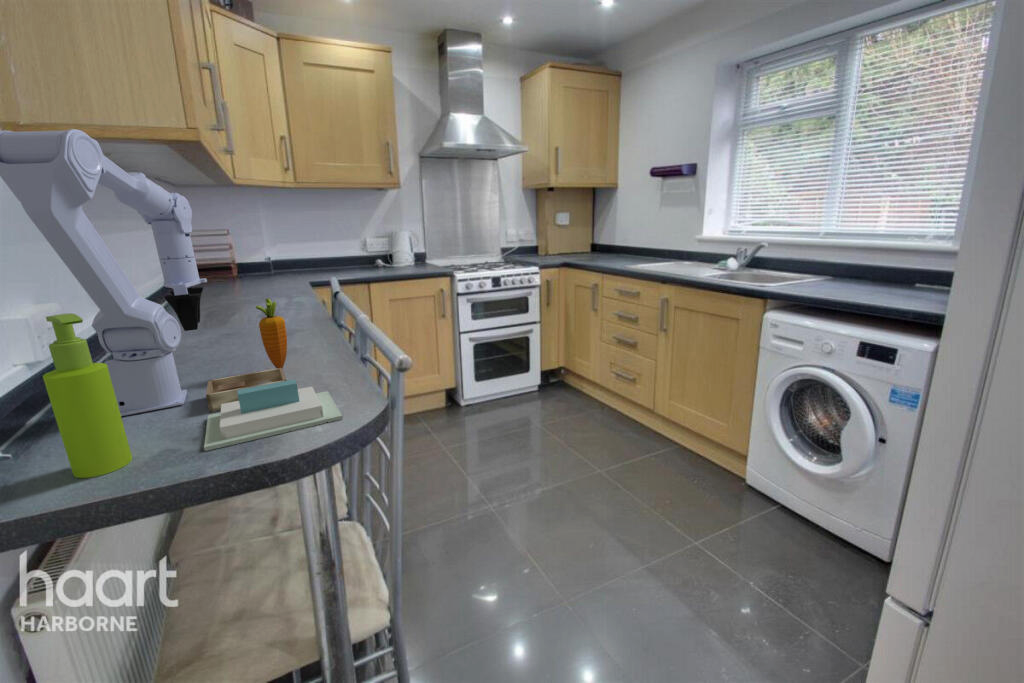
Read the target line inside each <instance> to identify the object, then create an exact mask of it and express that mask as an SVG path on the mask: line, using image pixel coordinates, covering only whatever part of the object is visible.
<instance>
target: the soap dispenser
mask: <svg viewBox="0 0 1024 683" xmlns="http://www.w3.org/2000/svg"><path fill="white" fill-rule="evenodd" d="M45 319H46V322H50V323H51V324H52V328H53V331H54V335H55V338H56V340H54V341H53V342H52V343H49V344H48V347H49V352H50V355H51V358H52V362H53V365H54V369H53V370H51V371H48V372H46V373H44V374H43V375H42V378H43V382H44V386H45V389H46V393H47V395H48V398H49V402H50V404H51V407H52V408H51V409H52V411H53V415H54V418H55V421H56V424H57V427H58V431H59V433H60V434H59V435H60V437H61V440H62V443H63V446H64V449H65V452H66V456H67V459H68V462H69V465H70V468H71V472H72V475H73V477H75V478H79V479H90V478H94V477H95V478H96V477H100V476H103V475H107V474H110V473H113V472H114V471H115V472H116V471H117V470H120V469H123V468H124V467H125V466H127V465H129V464H130V463H131V462H132V460H133V455H132V452H131V447H130V445H129V440H128V438H127V433H126V429H125V426H124V421H123V419H122V416H121V414H120V411H119V407H118V403H117V400H116V396H115V392H114V389H113V385H112V381H111V378H110V374H109V370H108V367H107V364H105V362H104V363H103V362H93V359H92V354H91V352H90V348H89V345H88V341H87V340H86V339H85V338H81V337H77V336H76V332H75V330H74V326H73V325H75V324H76V325H77V324H81V323H83V321H84V319H83V318H82V317H80V315H77V314H76V313H63V314H62V313H61V314H54V315H48V316H45Z"/></svg>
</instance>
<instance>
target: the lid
mask: <svg viewBox="0 0 1024 683" xmlns="http://www.w3.org/2000/svg"><path fill="white" fill-rule="evenodd" d="M316 393H317V392H315V389H314V387H313V386H306V387H302V388H298V384H297V382H296V379H289V380H287V381H283V382H278V383H272V384H267V385H261V386H256V387H251V388H245V389H240V390H238V399H239V401H235V402H230V403H225V404H221V410H220V413H221V417H220V431H221V435H222V439H227V438H231V437H236V436H240V435H244V434H249V433H253V432H258V431H262V430H267V429H271V428H275V427H280V426H284V425H289V424H293V423H297V422H302V421H306V420H311V419H315V418H320V417H324V415H323V409H322V405H321V403H320V401H319V399H318V397H317V395H316Z"/></svg>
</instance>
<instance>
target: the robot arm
mask: <svg viewBox="0 0 1024 683" xmlns="http://www.w3.org/2000/svg"><path fill="white" fill-rule="evenodd" d="M101 148H102V147H101V146H100V144H99V142H98V141H97V140H96V139H95V138H92V137H91V136H89V135H88V133H86V132H84V131H83V130H81V129H77V128H76V129H75V128H72V129H71V128H70V129H67V130H32V131H31V130H30V131H27V130H25V131H13V130H0V178H1V179H2V181H3V182H4V183H5V184H6V186H7V187H8V188H9V190H10V191H11V193H12V194H14V197H16V199H17V201H19V203H20V205H21V206H22V208H23V210H24V212H25V214H26V215H27V216H28V217H29V219H30V220H31V221H32V223H33V224H34V226H35V227H36V229H38V230H39V232H40V233H41V234H42V235H43V237H44V239H45V240H46V241H47V242H48V244H49V245H50V247H51V248H52V249H53V250H54V251H55V253H56V254H57V256H58V257H59V258H60V260H61V261H62V262H63V263H64V265H65V266H66V267H67V268H68V270H69V271H70V272H71V273H72V275H73V276H74V278H75V279H76V280H77V282H78V283H79V284H80V286H81V287H82V288H83V290H84V291H85V292H86V294H87V295H88V296H89V297H90V299H91V300H92V301H93V302H94V304H95V305H96V307H97V308H98V309H99V311H98V312H97V313H96V315H95V316H94V317H93V320H92V324H91V327H92V328H93V330H94V331H95V333H96V334H97V336H98V342H99V344H100V346H101V347H102V349H103V350H104V351H105V352H107V354H110V355H112V357H113V359H110V360H106V361H105V362H104V363H105V364H107V367H108V370H109V374H110V378H111V381H112V385H113V389H114V392H115V396H116V400H117V403H118V407H119V411H120V414H121V417H123V416H130V415H135V414H140V413H145V412H151V411H156V410H162V409H166V408H172V407H177V406H181V405H184V403H185V401H186V396H187V394H188V390H187V389H182V388H181V384H180V383H181V382H180V379H179V375H178V370H177V366H176V362H175V358H174V354H173V351H176V350H177V347H178V346H179V344H180V342H181V339H182V338H181V337H182V330H181V327H182V329H183V330H184V332H188V331H195V330H198V327H199V324H200V322H201V299H202V298H201V297H202V293H203V290H204V287H203V286H197V285H200V284H203V283H204V284H205V283H208V279H207V278H205V277H204V278H200V275H199V271H198V266H197V261H196V260H197V259H196V256H195V251H194V247H193V241H192V237H191V233H192V231H193V225H192V218H193V210H192V208H191V205H190V202H189V201H188V199H187V198H186V197H185V196H183V195H181V194H179V193H178V192H169V191H167V190H166V189H164V188H163V187H162V186H160V185H158V184H157V183H156V182H153V181H152V180H151V179H149V178H147V177H146V174H144V173H143V172H141V171H139V172H138V171H137V172H135V171H134V172H133V171H131V172H127V171H125V170H124V169H122V168H121V167H120V166H118V165H117V163H114V161H112V160H111V159H109V158H108V157H107V156H106V155H104V153H103V150H102V149H101ZM98 184H99V185H100V186H102V187H105V188H107V189H109V190H111V191H113V194H114V196H115V198H116V199H117V201H119V202H121V203H122V204H123V205H125V206H127V207H129V208H131V209H132V210H135V211H136V212H137V213H138V214H139V215H140V216H141V217H142V219H143V221H144V222H145V223H146V224H147V225H151V231H152V234H153V238H154V243H155V246H156V250H157V252H156V253H157V255H158V260H159V264H160V269H161V272H162V277H163V286H164V287H165V288H170V289H173V290H170V292H169V294H166V295H164V296H163V297H164V300H165V301H166V302H167V303H168V305H169V306H170V307H171V308H172V310H173V311H174V313H175V314H176V316H177V318H178V320H179V321H178V320H177V319H176V318H175V317H174V316H173V315H171V314H170V313H169V312H167V311H166V309H165V308H164V306H163V305H162V304H159V303H157V302H155V301H152V300H149V299H146V298H144V297H142V296H140V294H139V293H138V291H137V290H136V289H135V287H134V285H133V284H132V282H131V281H130V279H129V278H128V276H127V275H126V273H125V272H124V270H123V269H122V267H121V266H120V265H119V262H118V261H117V260H116V259H115V256H113V254H112V253H111V251H110V250H109V248H108V247H107V245H106V243H105V242H104V240H103V238H101V236H100V234H99V233H98V232H97V230H96V228H95V227H94V225H93V224H92V222H91V221H90V219H89V218H88V217H87V215H86V213H85V211H84V210H83V205H85V204H86V203H88V202H89V201H91V200H92V199H93V197H94V194H95V192H96V188H97V187H98ZM194 286H195V287H194ZM179 322H180V324H179ZM180 326H181V327H180Z"/></svg>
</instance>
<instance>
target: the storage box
mask: <svg viewBox="0 0 1024 683" xmlns="http://www.w3.org/2000/svg"><path fill="white" fill-rule="evenodd" d="M283 381H288V380H287V378H286V376H285V372H284V368H278V369H277V368H274V369H273V368H272V369H265V370H261V371H256V372H250V373H244V374H238V375H231V376H227V377H226V376H225V377H220V378H214V379H208V380H207V385H206V386H207V387H206V392H205V393H206V394H205V397H206V402H207V406H208V411H209V413H214V412H219V411H220V412H221V404H225V403H230V402H235V401H239V399H238V390H240V389H245V388H251V387H256V386H261V385H267V384H272V383H278V382H283Z"/></svg>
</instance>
